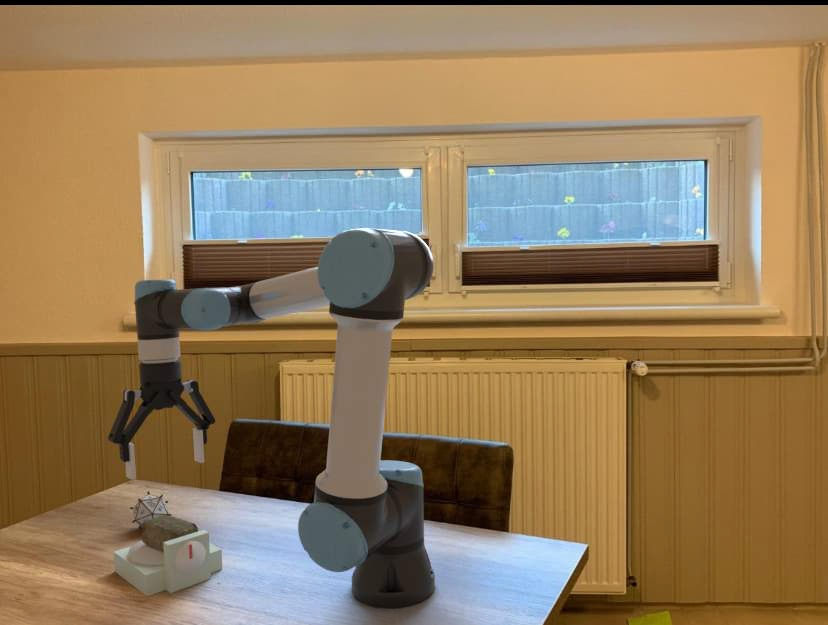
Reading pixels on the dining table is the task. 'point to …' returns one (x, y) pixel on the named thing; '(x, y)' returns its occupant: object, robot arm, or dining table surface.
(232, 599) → the dining table surface
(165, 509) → the game die
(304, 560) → the dining table surface
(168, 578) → the scale
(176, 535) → the stone block
